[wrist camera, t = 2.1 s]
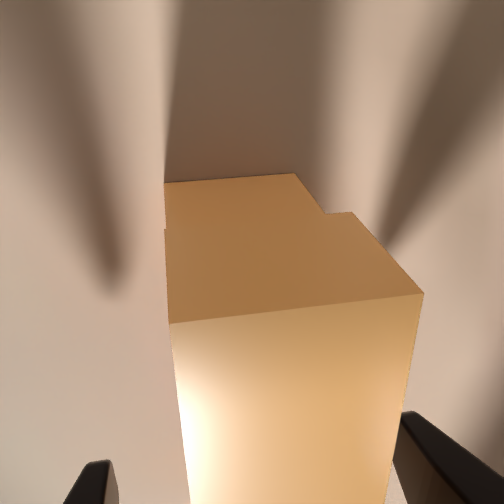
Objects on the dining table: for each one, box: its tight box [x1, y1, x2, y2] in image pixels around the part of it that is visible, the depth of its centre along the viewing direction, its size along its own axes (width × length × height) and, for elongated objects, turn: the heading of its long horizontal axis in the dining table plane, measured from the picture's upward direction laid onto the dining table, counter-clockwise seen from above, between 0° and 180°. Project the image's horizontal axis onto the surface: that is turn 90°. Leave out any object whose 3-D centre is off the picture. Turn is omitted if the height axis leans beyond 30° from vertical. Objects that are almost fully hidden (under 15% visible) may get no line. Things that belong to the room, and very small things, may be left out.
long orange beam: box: [164, 173, 424, 504], centre depth 9 cm, size 2×10×5 cm, turn 1°
